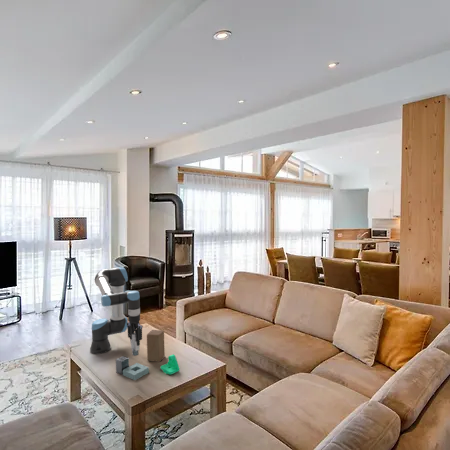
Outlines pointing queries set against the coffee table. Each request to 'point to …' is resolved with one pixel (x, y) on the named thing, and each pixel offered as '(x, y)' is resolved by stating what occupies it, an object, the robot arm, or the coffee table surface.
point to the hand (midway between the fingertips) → (135, 349)
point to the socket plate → (135, 371)
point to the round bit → (134, 345)
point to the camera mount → (171, 365)
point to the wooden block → (155, 345)
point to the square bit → (121, 364)
